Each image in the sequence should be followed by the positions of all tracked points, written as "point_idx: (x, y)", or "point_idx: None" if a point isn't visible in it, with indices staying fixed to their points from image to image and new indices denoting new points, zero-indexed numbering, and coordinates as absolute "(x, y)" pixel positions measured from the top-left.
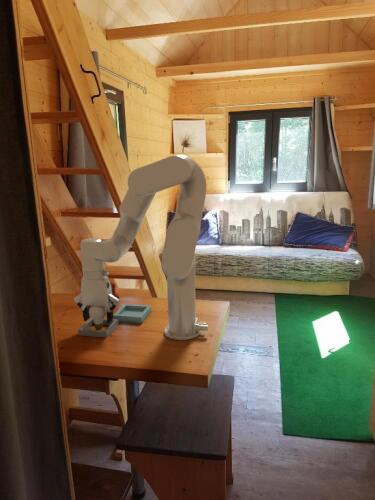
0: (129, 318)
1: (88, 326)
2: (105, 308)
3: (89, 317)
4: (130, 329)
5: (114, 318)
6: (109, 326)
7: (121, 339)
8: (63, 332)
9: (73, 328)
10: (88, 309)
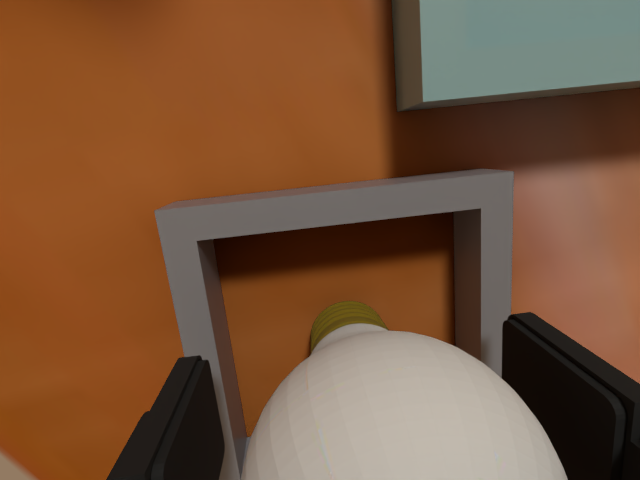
0: (624, 84)
1: (225, 342)
2: (559, 460)
3: (207, 368)
4: (630, 236)
5: (421, 105)
6: (488, 358)
7: None
8: (52, 462)
9: (80, 374)
10: (170, 474)
